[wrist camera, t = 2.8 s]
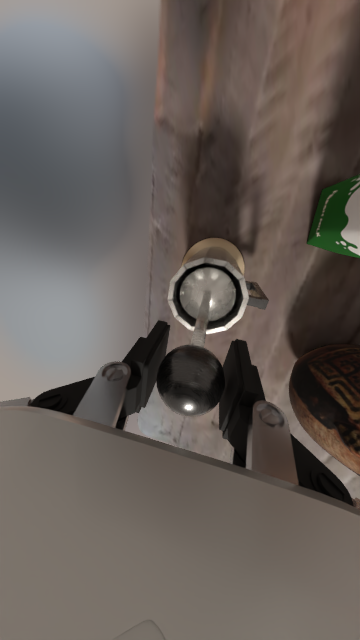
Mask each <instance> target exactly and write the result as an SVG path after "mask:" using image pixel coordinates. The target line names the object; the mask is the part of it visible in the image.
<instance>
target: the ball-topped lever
mask: <svg viewBox="0 0 360 640" xmlns="http://www.w3.org/2000/svg"><path fill="white" fill-rule="evenodd" d="M235 297H236V292H235V287H234V284H233V282H232V280H231V279H230V277H229V276H228V275H227V274H226V273H224V272H223V271H221V270H219V269H216V268H211V267H205V268H200V269H197V270H195V271H193V272H192V273H191V274H189V275H188V276H187V278H186V279H185V280H184V282H183V284H182V286H181V290H180V300H181V303H182V306H183V308H184V309H185V311H186V312H187V313H188V314H189V315H191V316H192V317H194V318H196V319H197V321H196V324H195V328H194V332H193V336H192V340H191V343H190V345H184V346H180V347H178V348H175V349H173V350H172V351H171V352H169V353H168V354H167V355H166V356H165V357H164V359H163V360H162V362H161V364H160V366H159V368H158V372H157V388H158V392H159V395H160V397H161V399H162V400H163V402H164V403H165V405H166V406H167V407H168V408H169V409H171V410H172V411H173V412H175V413H177V414H179V415H182V416H187V417H196V416H201V415H204V414H206V413H208V412H209V411H211V410H212V409H213V408H214V407H215V406H216V405H217V404H218V402H219V401H220V399H221V397H222V395H223V392H224V388H225V375H224V371H223V368H222V365H221V363H220V362H219V360H218V359H217V357H216V356H215V355H214V354H213V353H212V352H210V351H209V350H207V349H205V348H204V343H205V336H206V329H207V322H208V321H214V320H218V319H220V318H222V317H224V316H225V315H226V314H227V313H228V312H229V311H230V310H231V309H232V307H233V305H234V302H235Z"/></svg>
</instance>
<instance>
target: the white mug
mask: <svg viewBox="0 0 360 640" xmlns="http://www.w3.org/2000/svg"><path fill="white" fill-rule="evenodd" d="M205 267H211V268H216V269H219V270H221V271H223V272H224V273H226V274H227V275H228V276H229V277H230V279H231V280H232V282H233V284H234V287H235V292H236V297H235V302H234V305H233V307H232V309H231V310H230V311H229V312H228V313H227V314H226V315H225V316H224V317H222V318H220V319H218V320H214V321H208V322H207V329H206V334H210V333H215V332H219V331H224V330H227V329H228V328H230V327H231V326H232V325H233V324H234V323H236V322H237V321H238V320H239V319H240V318H242V316H243V313H244V310H245V308H246V305H249V306H254V307H258V308H259V309H264V310H265V309H266V306H267V304H268V301H269V300H268V298H267V297H266V295H265V294H264V293H263V291H262V290H261V288H260V287H259V285H258V284H257V283H256V282H248V281H245V279H244V276H243V274H242V272H241V270H240V268H239V266H238V264H237V262H236V260H235V258H234V257H233V256H232V255H231V254H230V253H229V252H228V251H227V250H226V249H223V248H220V247H213V246H210V247H207V248H204V249H202V250H199V251H197V252H196V253H195V254H194V255H193V256H192V257H191V258H190V259H189V260H188V261H187V262H186V263H185V264H184V265H183V266H182V267H181V269H180V270H179V271H178V272H177V274H176V275H175V276H174V277H173V278H172V280H171V281H170V288H169V295H168V302H169V304H170V307H171V309H172V312H173V314H174V317H175V318H176V319H177V320H178V321H180V322H181V323H182V324H183V325H184V326H186V327H187V328H188V329H189V330H193V331H194V328H195V324H196V321H197V319H196V318H194V317H192V316H191V315H189V314H188V313H187V312H186V311H185V309H184V308H183V306H182V303H181V300H180V290H181V286H182V284H183V282H184V280H185V279H186V278H187V276H188V275H189V274H191V273H192V272H193V271H195V270H197V269H200V268H205ZM247 289H248V290H250V292H251V294H252V296H251V295H248V292H247Z"/></svg>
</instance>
